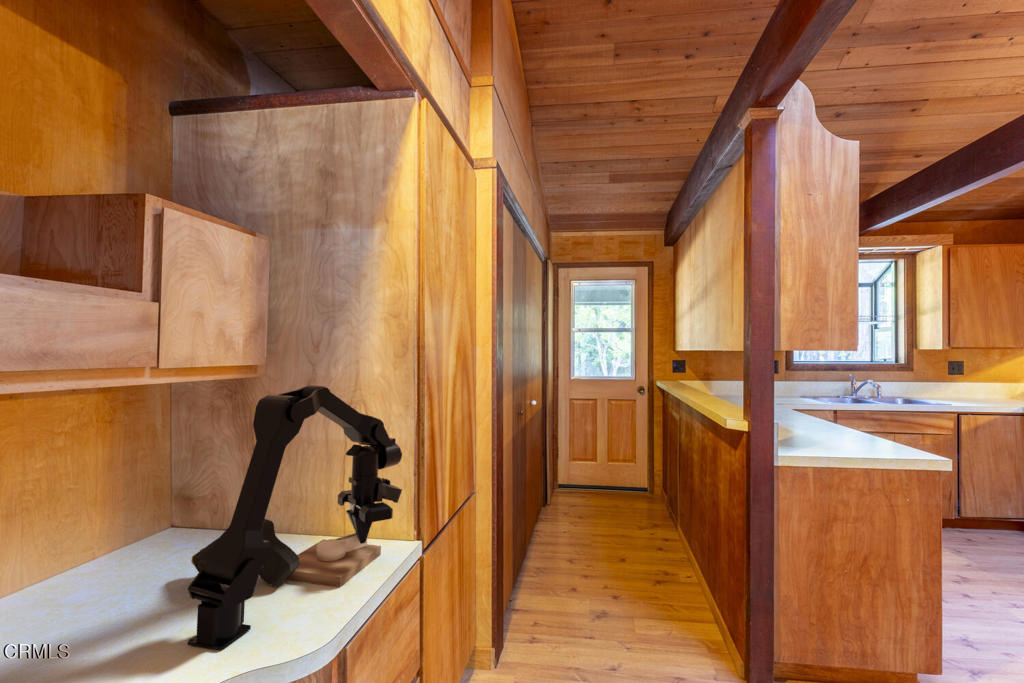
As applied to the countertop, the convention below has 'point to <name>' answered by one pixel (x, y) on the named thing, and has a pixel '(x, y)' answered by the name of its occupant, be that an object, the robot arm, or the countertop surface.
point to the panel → (333, 566)
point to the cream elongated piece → (338, 547)
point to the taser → (277, 561)
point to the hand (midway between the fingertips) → (362, 543)
